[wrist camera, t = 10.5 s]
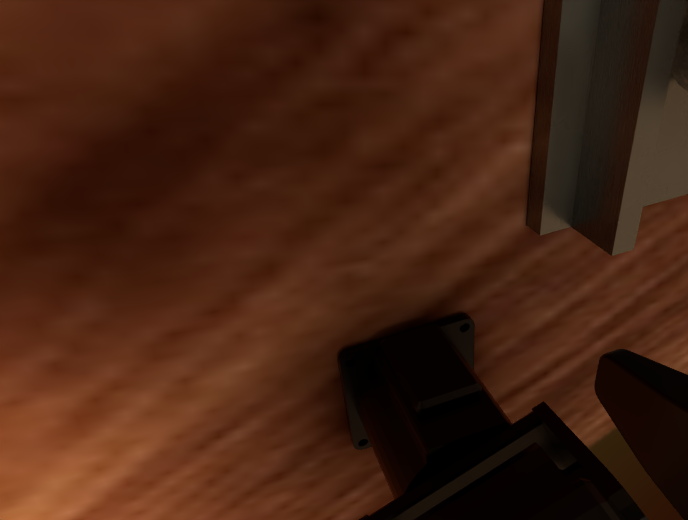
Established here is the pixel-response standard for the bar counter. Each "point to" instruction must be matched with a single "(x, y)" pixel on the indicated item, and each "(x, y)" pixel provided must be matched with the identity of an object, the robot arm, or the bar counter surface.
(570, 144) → the pipe cradle
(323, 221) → the bar counter surface
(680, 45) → the pipe
